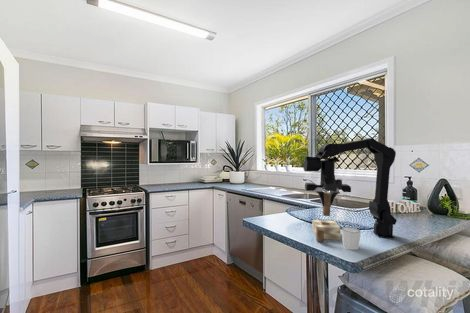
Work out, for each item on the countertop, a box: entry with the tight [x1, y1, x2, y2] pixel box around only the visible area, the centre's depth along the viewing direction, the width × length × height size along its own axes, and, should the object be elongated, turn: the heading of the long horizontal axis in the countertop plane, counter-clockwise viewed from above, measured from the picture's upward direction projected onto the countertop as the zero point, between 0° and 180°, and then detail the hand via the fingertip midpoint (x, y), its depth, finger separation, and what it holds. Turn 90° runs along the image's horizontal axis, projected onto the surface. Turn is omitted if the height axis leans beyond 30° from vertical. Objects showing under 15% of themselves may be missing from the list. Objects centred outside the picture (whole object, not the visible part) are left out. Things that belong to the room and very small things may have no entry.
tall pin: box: [322, 192, 331, 217], centre depth 109 cm, size 3×3×10 cm
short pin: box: [315, 228, 325, 243], centre depth 102 cm, size 3×3×5 cm
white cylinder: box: [341, 226, 362, 251], centre depth 96 cm, size 7×7×7 cm
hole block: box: [311, 219, 342, 240], centre depth 109 cm, size 10×10×5 cm
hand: (326, 206), depth 109 cm, fingers closed on tall pin, 3 cm apart
